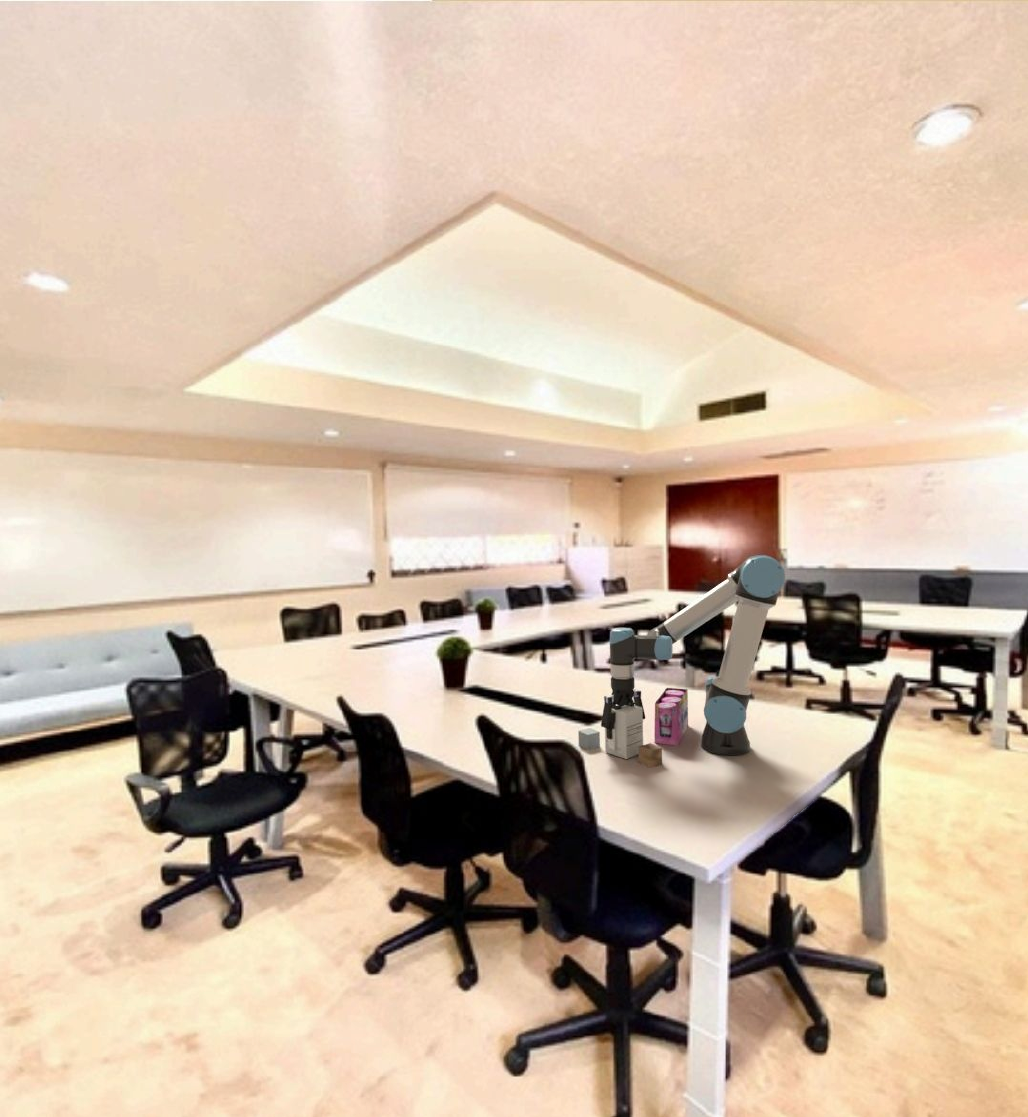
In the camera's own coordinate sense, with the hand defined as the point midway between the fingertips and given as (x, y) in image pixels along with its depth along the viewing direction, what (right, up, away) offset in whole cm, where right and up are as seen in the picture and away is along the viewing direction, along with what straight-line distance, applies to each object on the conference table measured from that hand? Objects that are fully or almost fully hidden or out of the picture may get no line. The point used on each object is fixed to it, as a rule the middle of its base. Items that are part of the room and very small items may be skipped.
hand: (624, 745), depth 193 cm
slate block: (-10, -3, +7) cm, 13 cm away
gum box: (+20, -2, +17) cm, 26 cm away
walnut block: (+6, -3, -9) cm, 11 cm away
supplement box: (0, -3, 0) cm, 3 cm away
